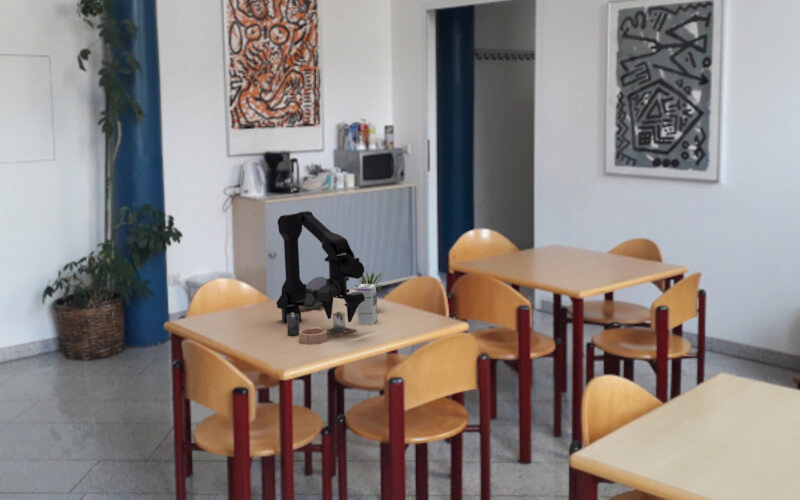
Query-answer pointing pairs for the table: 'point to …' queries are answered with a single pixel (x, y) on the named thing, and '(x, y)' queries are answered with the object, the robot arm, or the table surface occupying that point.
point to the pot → (312, 336)
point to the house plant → (371, 281)
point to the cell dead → (293, 324)
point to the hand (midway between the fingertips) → (339, 320)
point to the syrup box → (367, 304)
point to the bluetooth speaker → (310, 288)
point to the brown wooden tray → (341, 333)
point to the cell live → (339, 322)
